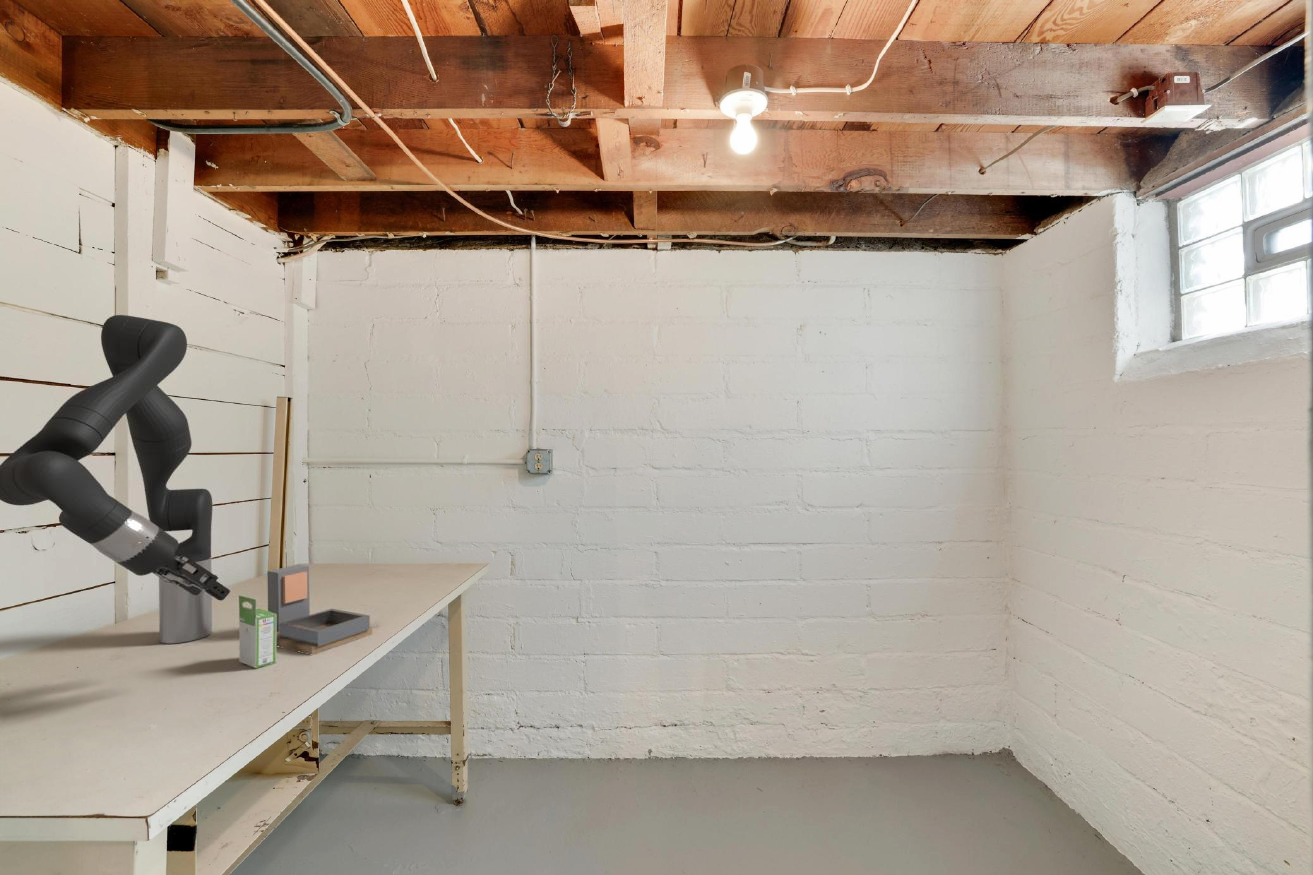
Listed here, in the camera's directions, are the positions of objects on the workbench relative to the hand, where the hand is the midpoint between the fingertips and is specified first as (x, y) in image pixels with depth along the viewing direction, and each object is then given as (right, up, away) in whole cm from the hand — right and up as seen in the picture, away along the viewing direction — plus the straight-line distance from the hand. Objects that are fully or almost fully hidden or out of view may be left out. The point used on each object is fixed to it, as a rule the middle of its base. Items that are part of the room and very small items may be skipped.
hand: (212, 593), depth 108 cm
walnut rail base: (+5, -15, +22) cm, 27 cm away
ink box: (+4, -16, +7) cm, 18 cm away
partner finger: (-1, -14, +25) cm, 29 cm away
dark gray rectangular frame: (+7, -14, +21) cm, 26 cm away
